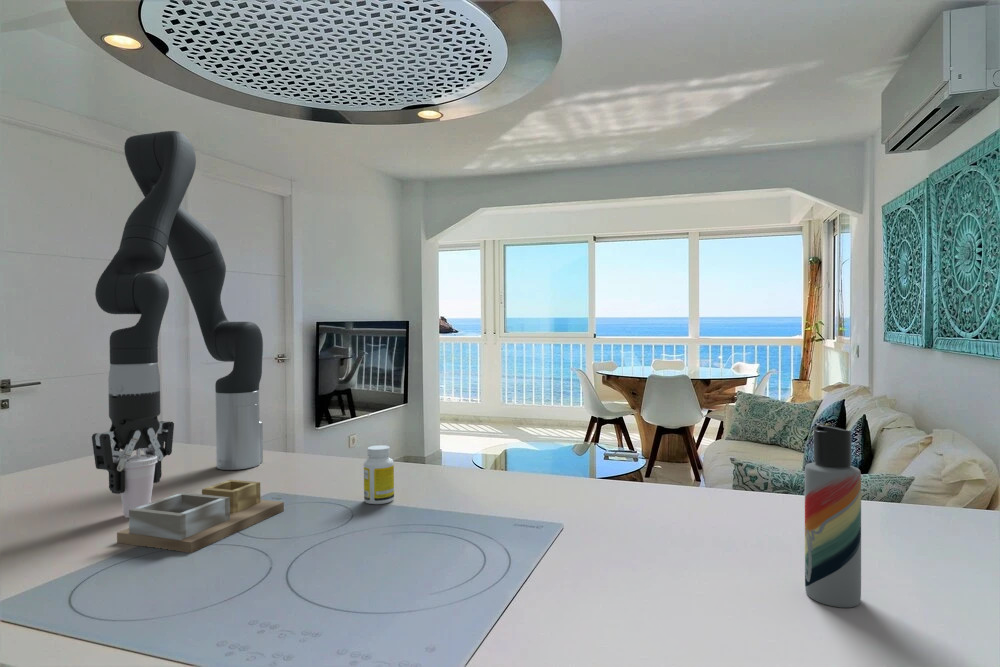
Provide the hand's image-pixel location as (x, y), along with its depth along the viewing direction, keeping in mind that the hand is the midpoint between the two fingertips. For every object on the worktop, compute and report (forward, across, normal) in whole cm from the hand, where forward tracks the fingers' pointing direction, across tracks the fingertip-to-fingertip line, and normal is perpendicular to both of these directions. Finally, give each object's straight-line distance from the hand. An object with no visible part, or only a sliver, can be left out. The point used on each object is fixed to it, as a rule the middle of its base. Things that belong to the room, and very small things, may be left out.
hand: (136, 487), depth 101 cm
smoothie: (+5, 0, 0) cm, 5 cm away
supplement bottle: (+5, -19, +36) cm, 41 cm away
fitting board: (+5, +1, +16) cm, 17 cm away
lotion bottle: (+5, 0, +106) cm, 106 cm away
